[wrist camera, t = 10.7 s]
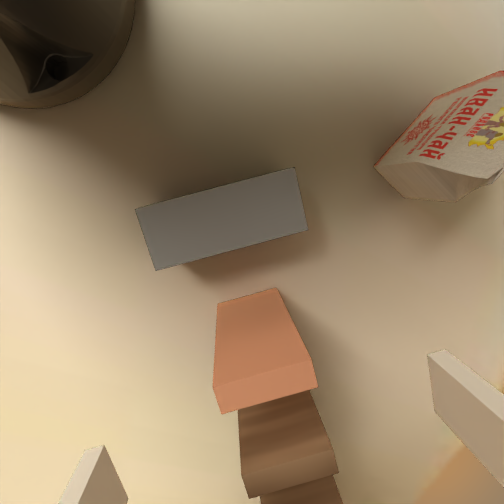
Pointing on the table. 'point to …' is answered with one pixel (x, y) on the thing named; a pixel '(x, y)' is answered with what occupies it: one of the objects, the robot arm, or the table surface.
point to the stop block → (223, 218)
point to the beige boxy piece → (451, 144)
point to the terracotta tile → (258, 353)
